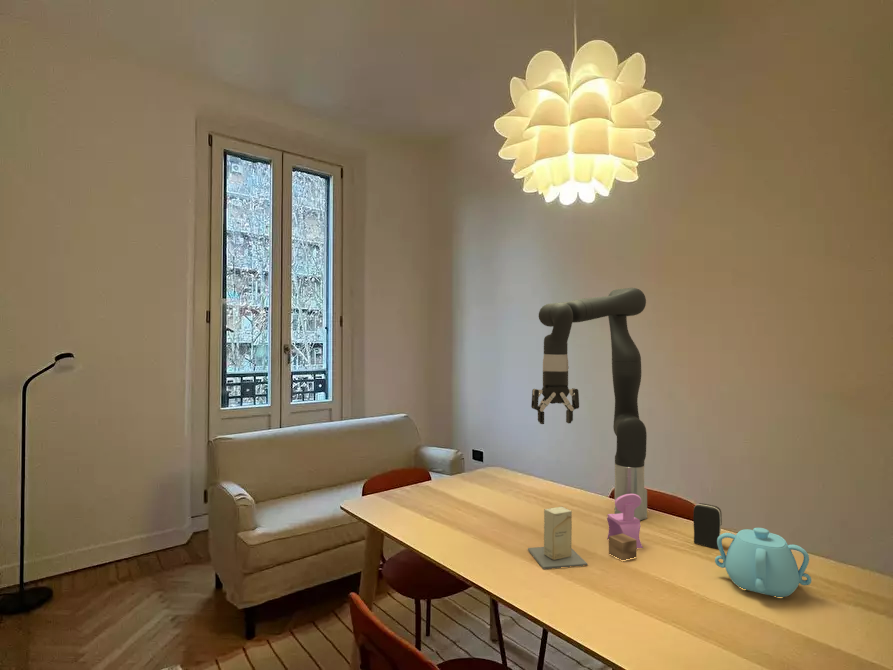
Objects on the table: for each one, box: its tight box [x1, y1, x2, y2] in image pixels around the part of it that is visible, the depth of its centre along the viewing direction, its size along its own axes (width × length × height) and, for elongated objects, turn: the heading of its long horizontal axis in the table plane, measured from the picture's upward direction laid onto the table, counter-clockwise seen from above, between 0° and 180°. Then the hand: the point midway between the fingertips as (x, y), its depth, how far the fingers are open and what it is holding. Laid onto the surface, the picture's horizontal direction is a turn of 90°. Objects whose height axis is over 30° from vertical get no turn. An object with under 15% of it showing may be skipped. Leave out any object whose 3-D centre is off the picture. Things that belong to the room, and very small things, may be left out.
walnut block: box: [608, 533, 638, 560], centre depth 139 cm, size 5×5×5 cm
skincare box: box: [543, 506, 573, 560], centre depth 137 cm, size 6×4×12 cm
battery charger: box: [693, 502, 723, 550], centre depth 146 cm, size 7×4×11 cm, turn 49°
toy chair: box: [606, 494, 644, 549], centre depth 147 cm, size 8×9×15 cm
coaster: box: [527, 546, 589, 570], centre depth 137 cm, size 12×12×1 cm
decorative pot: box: [714, 527, 812, 598], centre depth 122 cm, size 16×16×14 cm
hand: (555, 423), depth 154 cm, fingers open, 8 cm apart
